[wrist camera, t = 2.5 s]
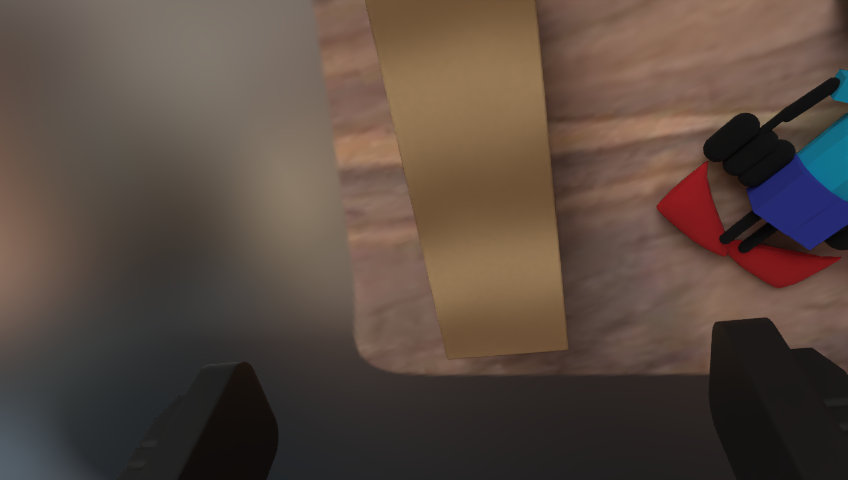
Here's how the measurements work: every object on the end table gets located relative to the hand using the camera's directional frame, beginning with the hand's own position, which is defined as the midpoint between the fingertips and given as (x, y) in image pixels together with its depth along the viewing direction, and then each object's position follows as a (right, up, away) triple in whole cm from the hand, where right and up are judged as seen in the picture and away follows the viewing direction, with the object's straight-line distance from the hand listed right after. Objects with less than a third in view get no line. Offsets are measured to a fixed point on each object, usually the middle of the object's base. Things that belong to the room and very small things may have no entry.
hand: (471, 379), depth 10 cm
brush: (+1, +6, +10) cm, 12 cm away
